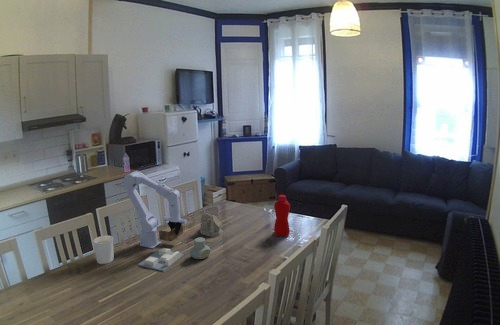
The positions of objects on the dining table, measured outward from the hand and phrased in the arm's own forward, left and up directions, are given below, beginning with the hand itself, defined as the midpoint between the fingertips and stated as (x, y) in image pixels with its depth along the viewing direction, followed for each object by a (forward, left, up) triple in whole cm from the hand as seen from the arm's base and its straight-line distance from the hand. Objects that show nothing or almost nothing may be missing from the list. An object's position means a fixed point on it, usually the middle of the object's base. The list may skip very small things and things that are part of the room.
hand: (175, 233), depth 193 cm
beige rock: (+9, +27, -8) cm, 30 cm away
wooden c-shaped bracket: (-3, 0, -2) cm, 3 cm away
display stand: (+2, -17, -8) cm, 18 cm away
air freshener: (+19, -5, -8) cm, 21 cm away
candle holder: (-26, -27, -8) cm, 39 cm away
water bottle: (+52, +39, -8) cm, 65 cm away
